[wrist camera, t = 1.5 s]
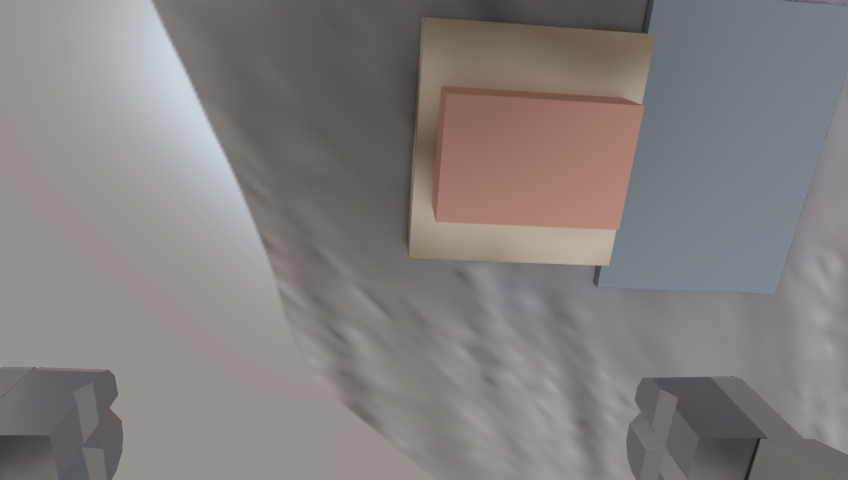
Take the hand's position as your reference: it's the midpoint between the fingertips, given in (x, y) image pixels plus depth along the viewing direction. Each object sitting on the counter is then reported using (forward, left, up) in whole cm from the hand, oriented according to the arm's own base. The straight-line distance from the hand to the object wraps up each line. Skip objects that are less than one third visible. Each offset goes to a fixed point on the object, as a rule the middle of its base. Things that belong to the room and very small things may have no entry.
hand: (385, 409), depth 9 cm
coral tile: (0, +7, -21) cm, 22 cm away
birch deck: (0, +7, -23) cm, 24 cm away
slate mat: (0, +18, -23) cm, 30 cm away
